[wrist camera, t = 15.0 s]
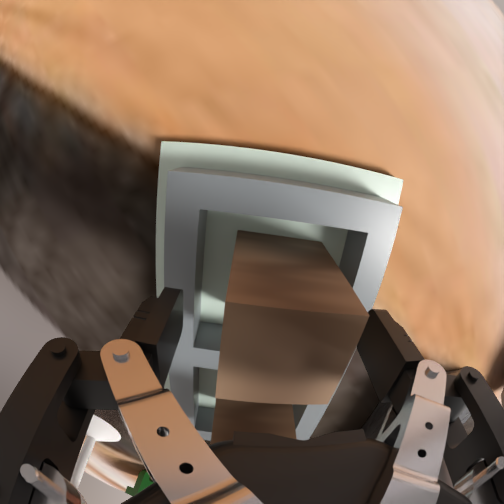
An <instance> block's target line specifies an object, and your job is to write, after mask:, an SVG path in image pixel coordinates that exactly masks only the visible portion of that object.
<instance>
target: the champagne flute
mask: <svg viewBox="0 0 504 504" xmlns="http://www.w3.org/2000/svg"><path fill="white" fill-rule="evenodd" d="M86 435H87V438H86V440H85V443H84V445H83V447H82V450H81V452H80V455H79V457H78V460H77V462H76V465H75V468H74V471H73V474H72V478H71V481H70V483H72V484H73V485H74V486H75V487H76V489H78V486H79V483H80V481H81V478H82V475H83V473H84V470H85V467H86V465H87V462H88V459H89V457H90V454H91V452H92V449H93V447H94V444H95V442H96V441H111V442H116V441H119V440H120V439H121V436H120V434H119V432H118V431H117V430H116V429H115V428H114V427H113V426H111V425H110V424H109V423H107V422H106V421H104V420H103V419H101V418H99V417H97V416H95V415H93V417H92V419H91V422H90V425H89V427H88V430H87V433H86ZM78 492H79V491H78ZM79 494H80V497H81V504H87V503H86V501H85V499H84V498H83V496H82V495H81V493H80V492H79Z"/></svg>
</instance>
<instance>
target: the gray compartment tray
mask: <svg viewBox="0 0 504 504" xmlns="http://www.w3.org/2000/svg"><path fill="white" fill-rule="evenodd" d="M402 184H403V180H402V179H399V178H395V177H392V176H388V175H385V174H381V173H377V172H373V171H369V170H365V169H361V168H357V167H352V166H348V165H344V164H339V163H334V162H330V161H325V160H320V159H315V158H309V157H304V156H298V155H292V154H286V153H280V152H273V151H266V150H259V149H251V148H243V147H234V146H225V145H214V144H202V143H188V142H170V141H161V151H160V162H159V175H158V190H157V211H156V293H157V298H159V296H160V294H161V292H162V291H163V289H164V287H170V288H176V289H182V290H183V328H182V333H181V337H180V340H179V343H178V345H177V348H176V351H175V354H174V357H173V360H172V363H171V367H170V370H169V373H168V376H167V379H166V382H165V385H164V389H166V388H167V389H169V390H170V391H171V393H172V394H173V396H174V397H175V399H176V400H177V402H178V404H179V405H180V407H181V408H182V410H183V411H184V413H185V414H186V416H187V417H188V419H189V420H190V422H191V423H192V424H193V426H194V427H195V429H196V430H197V431H198V433H199V434H200V436H201V437H202V438H203V440H209V441H211V435H212V427H213V419H214V411H215V403H216V398H215V394H216V383H217V373H218V363H219V354H220V344H221V335H222V326H223V317H224V308H225V300H226V294H227V288H228V282H229V276H230V270H231V265H232V259H233V253H234V248H235V242H236V236H237V231H238V230H243V231H250V232H257V233H264V234H271V235H278V236H285V237H292V238H299V239H305V240H312V241H319V242H322V243H323V245H324V246H325V248H326V249H327V251H328V252H329V254H330V255H331V257H332V258H333V259H334V261H335V262H336V264H337V265H338V267H339V268H340V270H341V272H342V273H343V275H344V276H345V278H346V279H347V281H348V282H349V284H350V285H351V287H352V288H353V290H354V292H355V293H356V295H357V296H358V298H359V299H360V301H361V303H362V304H363V306H364V308H365V309H366V311H367V312H368V311H369V310H371V309H372V307H373V305H374V302H375V299H376V296H377V294H378V291H379V288H380V285H381V282H382V279H383V276H384V273H385V270H386V266H387V263H388V260H389V257H390V253H391V250H392V246H393V243H394V239H395V236H396V232H397V228H398V224H399V220H400V216H401V212H402V208H403V207H402V206H399V205H398V203H399V199H400V194H401V189H402ZM356 347H357V346H356ZM354 352H355V351H354ZM353 354H354V353H353ZM352 356H353V355H352ZM351 358H352V357H351ZM349 363H350V362H349ZM348 365H349V364H348ZM347 367H348V366H347ZM346 369H347V368H346ZM345 371H346V370H345ZM344 373H345V372H344ZM343 375H344V374H343ZM342 377H343V376H342ZM341 379H342V378H341ZM340 381H341V380H340ZM339 383H340V382H339ZM338 385H339V384H338ZM337 387H338V386H337ZM336 389H337V388H336ZM335 391H336V390H335ZM334 393H335V392H334ZM334 393H333V395H334ZM333 395H332V397H333ZM332 397H331V399H332ZM331 399H330V401H331ZM330 401H329V403H330ZM329 403H328V404H322V405H301V404H292V406H293V414H294V422H295V430H296V438H297V439H298V440H309V438H310V436H311V435H312V433H313V431H314V430H315V428H316V426H317V424H318V423H319V421H320V419H321V417H322V416H323V414H324V412H325V410H326V408H327V407H328V405H329Z"/></svg>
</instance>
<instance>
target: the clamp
mask: <svg viewBox="0 0 504 504" xmlns="http://www.w3.org/2000/svg"><path fill="white" fill-rule="evenodd" d="M153 483H154V482H153V480H152V479H151V477H150V475H149V474H148V472H147V470H142V471H141V472H140V473H139V475H138V478H137V481H136V483H135V486H134V488H132V487H129V486H127V489H126V492H125V493H127V494H129V495H131V496H134V495H136V494H137V493H139V492H140V491H142V490H144V489H145V488H147V487H148V486H150V485H151V484H153Z"/></svg>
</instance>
